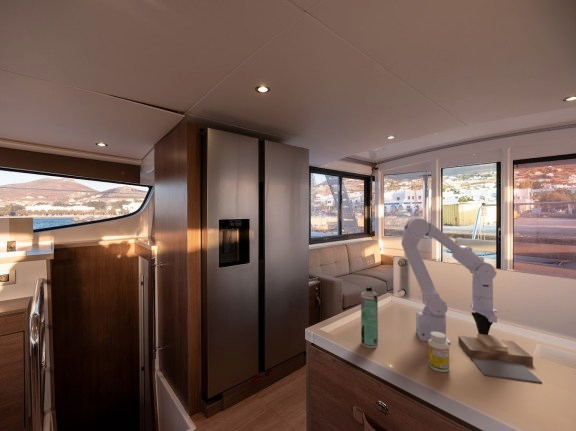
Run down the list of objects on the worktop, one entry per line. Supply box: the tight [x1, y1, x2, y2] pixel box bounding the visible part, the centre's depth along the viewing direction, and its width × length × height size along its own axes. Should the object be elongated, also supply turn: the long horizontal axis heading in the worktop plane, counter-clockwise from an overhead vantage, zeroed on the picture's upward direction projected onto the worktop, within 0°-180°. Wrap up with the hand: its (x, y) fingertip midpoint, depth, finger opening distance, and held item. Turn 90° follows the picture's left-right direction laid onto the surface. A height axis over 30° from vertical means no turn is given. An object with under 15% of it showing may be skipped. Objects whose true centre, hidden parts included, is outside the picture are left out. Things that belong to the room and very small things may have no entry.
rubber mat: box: [470, 357, 543, 384], centre depth 74 cm, size 13×9×1 cm
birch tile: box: [476, 333, 508, 352], centre depth 83 cm, size 5×8×2 cm, turn 164°
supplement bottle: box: [427, 332, 450, 373], centre depth 75 cm, size 5×5×10 cm
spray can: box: [360, 285, 379, 349], centre depth 89 cm, size 6×6×20 cm
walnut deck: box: [457, 335, 534, 366], centre depth 82 cm, size 16×10×2 cm, turn 74°
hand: (483, 335), depth 89 cm, fingers closed
